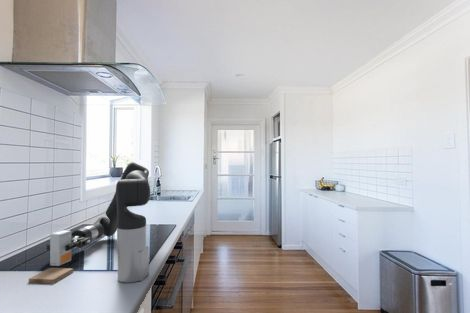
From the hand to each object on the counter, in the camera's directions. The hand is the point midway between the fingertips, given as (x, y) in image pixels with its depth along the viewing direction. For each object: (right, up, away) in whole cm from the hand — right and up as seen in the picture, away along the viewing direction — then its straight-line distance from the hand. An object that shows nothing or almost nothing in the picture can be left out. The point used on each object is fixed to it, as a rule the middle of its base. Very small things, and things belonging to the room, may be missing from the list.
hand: (56, 248), depth 105 cm
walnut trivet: (+5, -6, -10) cm, 13 cm away
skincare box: (0, -7, +2) cm, 7 cm away
